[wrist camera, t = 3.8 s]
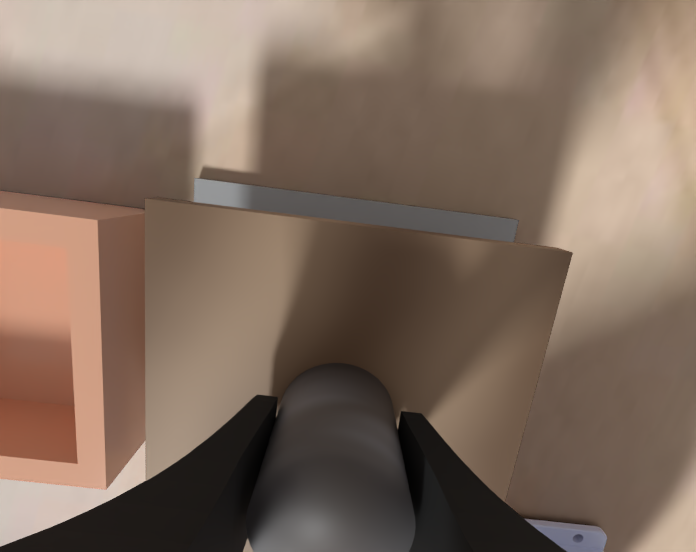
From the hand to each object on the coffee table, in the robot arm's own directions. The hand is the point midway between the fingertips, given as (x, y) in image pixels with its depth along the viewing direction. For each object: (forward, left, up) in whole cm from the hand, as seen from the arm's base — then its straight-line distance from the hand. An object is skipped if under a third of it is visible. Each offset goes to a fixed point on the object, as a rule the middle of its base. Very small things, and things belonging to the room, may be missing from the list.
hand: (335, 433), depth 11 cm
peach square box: (+13, 0, -6) cm, 14 cm away
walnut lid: (0, 0, -2) cm, 2 cm away
